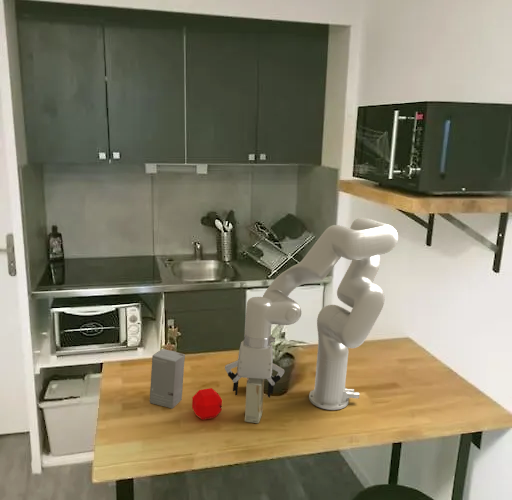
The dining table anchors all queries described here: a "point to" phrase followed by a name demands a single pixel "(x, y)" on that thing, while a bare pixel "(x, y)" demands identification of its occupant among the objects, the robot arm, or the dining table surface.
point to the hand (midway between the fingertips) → (252, 394)
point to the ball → (206, 403)
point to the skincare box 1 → (167, 378)
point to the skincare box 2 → (254, 400)
